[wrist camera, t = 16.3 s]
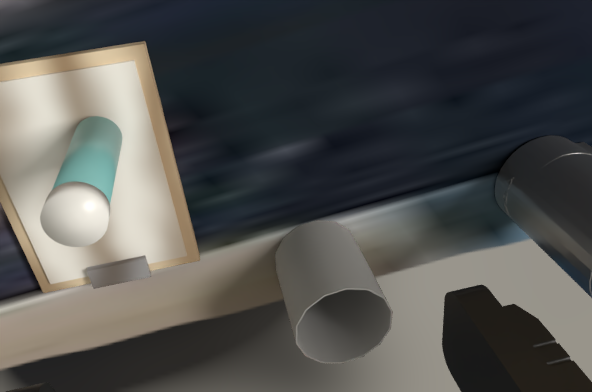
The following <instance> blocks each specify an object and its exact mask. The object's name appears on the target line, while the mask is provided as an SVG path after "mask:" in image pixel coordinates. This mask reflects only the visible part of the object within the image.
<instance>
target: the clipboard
mask: <svg viewBox="0 0 592 392" xmlns="http://www.w3.org/2000/svg"><path fill="white" fill-rule="evenodd" d="M94 116H99V117H104V118H107V119H109V120H111V121H113V122H114V123H115V124H116V125H117V126H118V127H119V129H120V131H121V133H122V145H121V151H120V156H119V161H118V166H117V171H116V176H115V182H114V187H113V192H112V197H111V202H110V217H109V222H108V227H107V230H106V232H105V234H104V235H103V237H102V238H101V239H99V240H98V241H97V242H95V243H93V244H91V245H88V246H83V247H70V246H65V245H62V244H59V243H57V242H55V241H54V240H52V239H51V238H50V237H49V236H48V235H47V234H46V233H45V232H44V230H43V228H42V226H41V222H40V215H41V211H42V209H43V206H44V204H45V201H46V199H47V196H48V195H49V193H50V192H51V191H52V188H53V186H54V183H55V181H56V178H57V176H58V173H59V171H60V168H61V166H62V163H63V161H64V158H65V155H66V153H67V150H68V148H69V145H70V143H71V140H72V138H73V135H74V133H75V130H76V128H77V126H78V124H79V123H80V122H81V121H83V120H84V119H86V118H89V117H94ZM0 202H1V204H2V206H3V209H4V211H5V213H6V215H7V217H8V219H9V221H10V223H11V225H12V228H13V230H14V232H15V234H16V236H17V238H18V240H19V242H20V244H21V247H22V249H23V251H24V253H25V255H26V257H27V259H28V261H29V263H30V266H31V268H32V270H33V272H34V274H35V276H36V278H37V280H38V282H39V285H40V287H41V289H42V291H43V293H46V292H51V291H56V290H60V289H65V288H70V287H75V286H80V285H84V284H89V283H92V286H93V288H94V289H95V288H100V287H105V286H109V285H114V284H119V283H124V282H128V281H133V280H138V279H143V278H147V277H151V272H150V271H152V270H157V269H161V268H166V267H171V266H176V265H181V264H185V263H190V262H195V261H200V254H199V251H198V247H197V243H196V239H195V235H194V231H193V227H192V223H191V219H190V215H189V211H188V207H187V204H186V200H185V196H184V192H183V188H182V184H181V180H180V176H179V172H178V168H177V164H176V160H175V156H174V153H173V149H172V145H171V141H170V137H169V133H168V129H167V125H166V121H165V117H164V113H163V109H162V106H161V102H160V98H159V94H158V90H157V86H156V82H155V78H154V74H153V70H152V66H151V62H150V58H149V55H148V51H147V47H146V43H145V41H143V42H136V43H130V44H124V45H117V46H111V47H105V48H98V49H92V50H86V51H79V52H73V53H66V54H60V55H54V56H47V57H41V58H35V59H28V60H22V61H16V62H9V63H3V64H0Z"/></svg>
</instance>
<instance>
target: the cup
mask: <svg viewBox="0 0 592 392" xmlns="http://www.w3.org/2000/svg"><path fill="white" fill-rule="evenodd" d="M275 262H276V272H277V275H278V279H279V283H280V286H281V290H282V294H283V298H284V301H285V305H286V308H287V312H288V316H289V320H290V323H291V327H292V331H293V334H294V338H295V342H296V344H297V345H298V347H299V348H300V350H301V351H302V352H303V354H304V355H305V356H306V357H309V358H311V359H313V360H316V361H318V362H321V363H345V362H348V361H351V360H354V359H357V358H360V357H363V356H365V355H366V354H367V353H369V352H370V351H371V350H373V349H374V348H376V347H377V346H378V345H380V344H381V342H382V341H383V339H384V338H385V336H386V335H387V333H388V332H389V330H390V329H391V323H392V313H393V312H392V310H391V308H390V306H389V304H388V302H387V300H386V298H385V296H384V294H383V292H382V290H381V288H380V286H379V284H378V283H377V281H376V279H375V277H374V275H373V273H372V271H371V269H370V267H369V265H368V263H367V261H366V259H365V257H364V255H363V254H362V252H361V250H360V248H359V246H358V244H357V242H356V240H355V238H354V237H353V235H352V233H351V231H350V230H349V229H347V228H346V227H344V226H342V225H341V224H339V223H337V222H334V221H321V220H316V221H313V222H310V223H306V224H303V225H300V226H298V227H296V228H295V229H294V230H293V231H291V232H290V233H289V234H288V235H286V236H285V237H284V238H283V239H282V241H281V243H280V245H279V247H278V249H277V251H276V253H275Z"/></svg>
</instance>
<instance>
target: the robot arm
mask: <svg viewBox="0 0 592 392" xmlns="http://www.w3.org/2000/svg"><path fill="white" fill-rule="evenodd" d="M495 197H496V201H497V203H498V205H499V207H500V208H501V209H502V210H503V211H504V212H505V213H506V214H507V215H508V216H509V217H510V218H511V219H512V220H513V221H514V222H515V223H516V224H517V225H518V226H519V227H520V228H521V229H522V230H523V231H524V232H525V233H526V234H527V235H528V236H529V237H530V238H531V239H532V240H533V241H534V242H535V243H536V244H537V245H538V246H539V247H540V248H541V249H542V250H543V251H544V252H545V253H547V254H548V256H549V257H550V258H552V259H553V260H554V261H555V262H556V263H557V264H558V265H559V266H560V267H561V268H562V269H563V270H564V271H565V272H566V273H567V274H568V275H569V276H570V277H571V278H572V279H573V280H574V281H575V282H576V283H577V284H578V285H579V286H580V287H581V288H582V289H583V290H584V291H585V292H586V293H587V294H588V295H589V296H590V297H591V298H592V147H591V146H589V145H587V144H586V143H584V142H582V143H573V142H571V141H570V140H568V139H567V138H564V137H560V136H545V137H540V138H537V139H534V140H532V141H530V142H528V143H526V144H525V145H523V146H521V147H520V148H519V149H518V150H516V151H515V152H514V153H513V154H512V155H511V156H510V157H509V158H508V159H507V160H506V162H505V163H504V165H503V166H502V168H501V169H500V172H499V174H498V176H497V179H496V184H495ZM442 347H443V353H444V357H445V360H446V364H447V366H448V369H449V370H450V372H451V374H452V376H453V378H454V380H455V381H456V383H457V385H458V387H459V388H460V390H461V392H592V382H591V381H590V380H589V378H588V377H587V376H586V375H585V374H584V373H583V371H582V370H581V369H580V368H579V367H578V365H577V364H576V363H575V362H574V361H571V360H570V356H569V355H568V354H567V352H566V351H565V350H564V349H563V348H562V347H561V345H560V344H557V343H556V341H555V338H554V337H553V336H552V335H551V334H550V332H549V331H548V330H547V329H546V328H545V327H544V325H543V324H542V323H541V322H540V321H539V319H537V318H536V317H534V316H533V315H531V314H529V313H528V312H526V311H525V310H523V309H522V308H520V307H518V306H517V305H515V304H512V305H507V306H503V307H502V306H501V304H500V303H499V302H498V301H497V299H496V298H495V297H494V296H493V294H492V293H491V292H490V290H489V289H488V288H487V287H486V286H484V285H478V286H474V287H469V288H465V289H460V290H456V291H452V292H448V293H447V294H446V295H445V302H444V320H443V338H442ZM6 392H55V391H54V389H53V387H52V386H51V384H49V383H47V382H46V383H41V384H37V385H32V386H28V387H24V388H19V389H15V390H10V391H6Z"/></svg>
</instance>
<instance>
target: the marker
mask: <svg viewBox="0 0 592 392" xmlns="http://www.w3.org/2000/svg"><path fill="white" fill-rule="evenodd" d="M121 145H122V133H121V131H120V129H119V127H118V126H117V125H116V124H115V123H114V122H113V121H111V120H109V119H107V118H104V117H99V116H94V117H89V118H86V119H84V120H83V121H81V122H80V123H79V124H78V126H77V128H76V130H75V133H74V135H73V138H72V140H71V143H70V145H69V148H68V150H67V153H66V155H65V158H64V161H63V163H62V166H61V168H60V171H59V173H58V176H57V178H56V181H55V183H54V186H53V188H52V191H51V192H50V193H49V195H48V196H47V199H46V201H45V204H44V206H43V209H42V211H41V215H40V222H41V226H42V228H43V230H44V232H45V233H46V234H47V235H48V236H49V237H50V238H51V239H52V240H54V241H55V242H57V243H59V244H62V245H65V246H70V247H83V246H88V245H91V244H93V243H95V242H97V241H98V240H99V239H101V238H102V237H103V235H104V234H105V232H106V230H107V227H108V222H109V217H110V202H111V197H112V192H113V187H114V182H115V176H116V171H117V166H118V161H119V156H120V151H121Z"/></svg>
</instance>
